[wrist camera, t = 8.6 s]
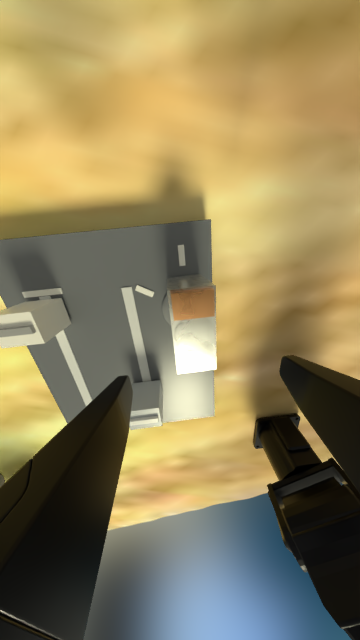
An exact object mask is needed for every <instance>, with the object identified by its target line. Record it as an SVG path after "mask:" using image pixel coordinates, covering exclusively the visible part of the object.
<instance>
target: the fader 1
mask: <svg viewBox="0 0 360 640" xmlns="http://www.w3.org/2000/svg"><path fill="white" fill-rule="evenodd" d="M70 324H71V322H70V319H69V316H68V314H67V311H66V308H65V306H64V303H63V301H62V298H56V299H47V300H37V301H28V302H23V303H21V304H18V305H15V306H12V307H9V308H7V309H4V310H1V311H0V346H1V348H9V347H18V346H27V345H35V344H44V343H46V342H47V341H49V340H50V339H51V338H53V337H54V336H55V335H57V334H58V333H59V332H61V331H62V330H63V329H65V328H66V327H67V326H69V325H70Z"/></svg>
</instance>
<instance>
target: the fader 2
mask: <svg viewBox="0 0 360 640" xmlns="http://www.w3.org/2000/svg"><path fill="white" fill-rule="evenodd" d="M132 389H133V399H132V407H131V416H130V425H129V426H130V429H131V430H134V429H141V428H149V427H157V426H162V419H163V392H162V387H161V381H160V380H157V381H148V382H140V383H133V385H132Z"/></svg>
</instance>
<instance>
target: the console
mask: <svg viewBox="0 0 360 640" xmlns="http://www.w3.org/2000/svg"><path fill="white" fill-rule="evenodd" d="M196 274H201V275H202V276H203V277H205V278H206V279H208V280H209V281H210V282H212V252H211V219H209V220H198V221H188V222H178V223H168V224H158V225H148V226H137V227H127V228H117V229H107V230H97V231H86V232H76V233H66V234H56V235H46V236H35V237H25V238H15V239H5V240H0V296H1V298H2V300H3V301H4V303H5V305H6V307H7V308H9V307H12V306H15V305H18V304H21V303H23V302H28V301H37V300H47V299H56V298H62V301H63V303H64V306H65V308H66V311H67V314H68V316H69V319H70V322H71V324H70V325H69V326H67V327H66V328H65V329H63V330H62V331H61V332H59V333H58V334H57V335H55V336H54V337H53V338H51V339H50V340H49V341H47V342H46V343H44V344H35V345H27V347H28V349H29V351H30V353H31V355H32V357H33V359H34V361H35V363H36V364H37V366H38V368H39V370H40V372H41V374H42V376H43V378H44V380H45V382H46V384H47V385H48V387H49V389H50V391H51V393H52V395H53V397H54V399H55V401H56V403H57V404H58V406H59V408H60V410H61V412H62V414H63V416H64V418H65V420H66V422H67V424H68V423H69V422H70V421H71V420H72V419H73V418H74V417H76V416H77V415H78V414H79V413H80V412H81V411H82V410H83V409H84V408H85V407H86V406H87V405H88V404H89V403H90V402H91V401H92V400H93V399H95V398H96V397H97V396H98V395H99V394H100V393H101V392H102V391H103V390H104V389H105V388H106V387H107V386H108V385H109V384H110V383H111V382H112V381H114V380H115V379H116V378H117V377H118V376H122V375H128V376H129V378H130V382H131V385H133V383H140V382H148V381H157V380H160V381H161V387H162V392H163V419H162V423H166V422H174V421H182V420H190V419H197V418H205V417H213V416H215V406H214V370H207V371H198V372H190V373H182V374H177V367H176V359H175V351H174V343H173V335H172V327H171V319H170V311H169V303H168V295H167V278H168V277H177V276H187V275H196ZM129 427H130V426H129Z"/></svg>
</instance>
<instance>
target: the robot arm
mask: <svg viewBox="0 0 360 640" xmlns="http://www.w3.org/2000/svg"><path fill="white" fill-rule="evenodd" d="M280 376H281V378H282V380H283V381H284V383H285V385H286V386H287V388H288V390H289V392H290V393H291V395H292V397H293V398H294V400H295V402H296V404H297V405H298V407H299V408H300V410H301V411H302V413H303V414H304V416H305V417H306V419H307V420H308V421H309V423H310V424H311V426H312V427H313V429H314V430H315V431H316V433H317V434H318V436H319V437H320V438H321V440H322V441H323V443H324V444H325V445H326V447H327V448H328V450H329V451H330V452H331V454H332V455H333V457H334V458H335V459H336V461H337V462H338V464H339V465H340V466H341V467H340V466H339V465H338V464H337V463H336V461H335V460H334V459H333V458H330V459H328V461H325V462H323V463H322V462H321V460H320V459H319V458H318V456H317V455H316V453H315V452H314V451H313V449H312V448H311V447H310V444H309V443H308V442H307V440H306V439H305V438H304V436H303V435H302V433H301V432H300V431H299V429H298V425H299V421H300V417H299V415H298V414H292V415H285V416H277V417H270V418H262V419H258V420H257V421H256V428H255V436H254V447H255V448H256V449H258V448H263V449H264V451H265V453H266V455H267V457H268V459H269V461H270V463H271V465H272V467H273V469H274V471H275V473H276V475H277V477H278V480H279V481H278V482H275V483H273V484H271V483H270V484H268V485H267V487H268V489H269V491H268V495H269V497H270V500H271V502H272V504H273V507H274V510H275V513H276V516H277V520H278V524H279V527H280V531H281V535H282V538H283V541H284V544H285V546H286V548H287V549H288V550H290V551H291V552H292V553H293V555H294V557H295V558H296V560H297V562H298V563H299V565H300V567H301V568H302V570H303V571H304V572H308V573H309V575H310V578H311V580H312V582H313V584H314V586H315V588H316V591H317V593H318V595H319V597H320V599H321V601H322V603H323V605H324V607H325V608H326V610H327V611H328V612H329V614H330V615H331V616H332V618H333V619H334V620H335V622H336V623H337V624H338V625H339V627H340V628H341V629H344V631H346V633H347V634H348V635H349V637H350V638H351V639H352V640H360V380H358V379H355V378H352V377H350V376H347V375H344V374H342V373H339V372H337V371H334V370H331V369H329V368H326V367H323V366H321V365H318V364H315V363H313V362H310V361H308V360H305V359H302V358H300V357H297V356H294V355H288V356H283V357H282V359H281V365H280ZM132 399H133V389H132V385H131V382H130V378H129V376H128V375H122V376H118V377H117V378H116V379H115V380H114V381H112V382H111V383H110V384H109V385H108V386H107V387H106V388H105V389H104V390H103V391H102V392H101V393H100V394H99V395H98V396H97V397H96V398H95V399H93V400H92V401H91V402H90V403H89V404H88V405H87V406H86V407H85V408H84V409H83V410H82V411H81V412H80V413H79V414H78V415H77V416H76V417H74V418H73V419H72V420H71V421H70V422H69V423H68V424H67V425H66V426H65V427H64V428H63V429H62V430H61V431H60V432H59V433H58V434H57V435H55V436H54V437H53V438H52V439H51V440H50V441H49V442H48V443H47V444H46V445H45V446H44V447H43V448H42V449H41V450H40V451H39V452H38V453H36V454H35V455H34V457H33V459H30V460H29V461H28V462H27V463H26V464H25V465H24V466H23V467H22V468H21V469H19V470H18V471H17V472H16V473H15V474H14V475H13V476H12V477H11V478H10V479H9V480H8V481H7V482H5V483H4V484H3V485H2V486H1V487H0V640H83V639H84V634H85V630H86V625H87V621H88V616H89V612H90V607H91V603H92V598H93V593H94V589H95V584H96V580H97V575H98V571H99V566H100V561H101V557H102V552H103V548H104V543H105V539H106V534H107V529H108V525H109V520H110V516H111V511H112V507H113V502H114V497H115V493H116V488H117V484H118V479H119V475H120V470H121V465H122V461H123V456H124V452H125V447H126V443H127V438H128V433H129V425H130V416H131V407H132ZM341 468H342V469H343V470H342V469H341ZM340 482H342V483H343V484H344V485H342V486H341V485H340V484H339V483H340Z"/></svg>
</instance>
